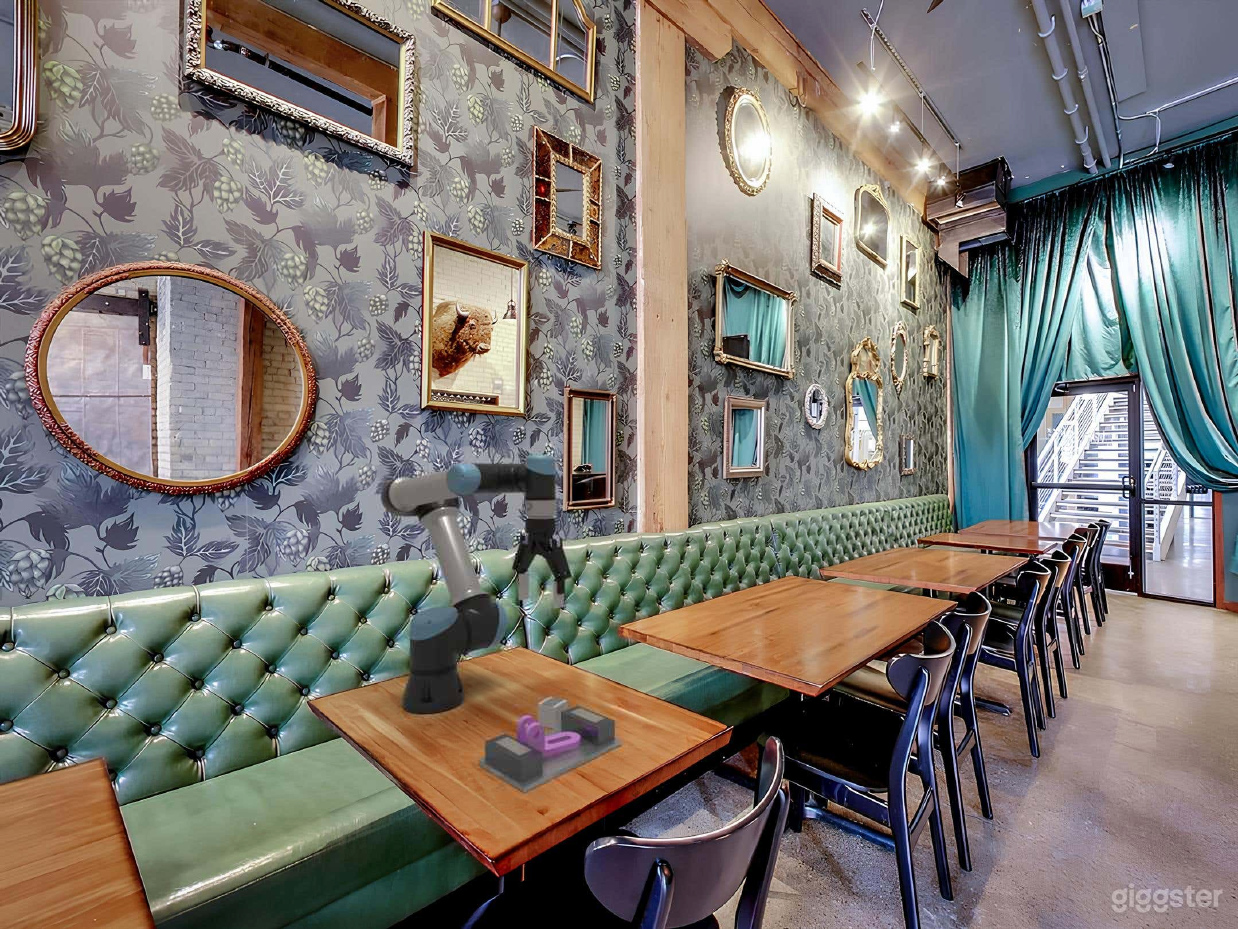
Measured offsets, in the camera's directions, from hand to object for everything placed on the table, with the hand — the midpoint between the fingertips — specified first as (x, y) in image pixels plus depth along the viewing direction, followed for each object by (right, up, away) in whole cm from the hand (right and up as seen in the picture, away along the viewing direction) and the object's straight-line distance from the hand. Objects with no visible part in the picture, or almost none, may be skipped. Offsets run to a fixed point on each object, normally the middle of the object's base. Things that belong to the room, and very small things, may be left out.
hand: (540, 603), depth 144 cm
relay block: (+4, -27, -7) cm, 28 cm away
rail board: (+5, -26, -22) cm, 35 cm away
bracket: (+5, -25, -22) cm, 34 cm away
